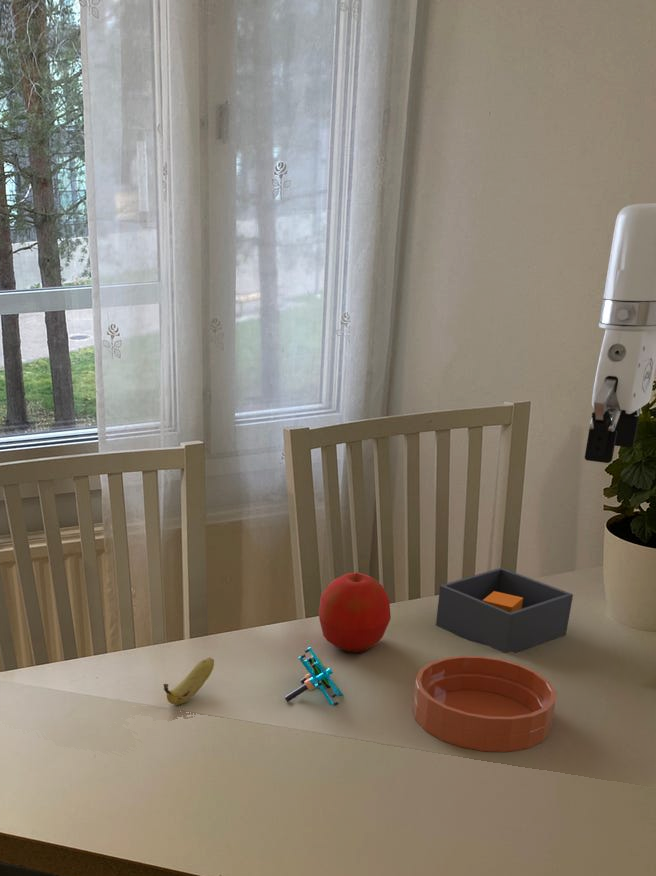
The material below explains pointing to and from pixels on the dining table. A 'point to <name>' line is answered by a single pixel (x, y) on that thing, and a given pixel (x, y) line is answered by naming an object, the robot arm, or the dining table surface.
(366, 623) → the apple
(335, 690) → the teal plastic assembly
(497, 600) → the block
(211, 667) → the banana
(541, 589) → the bin
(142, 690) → the dining table surface
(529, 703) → the bowl
